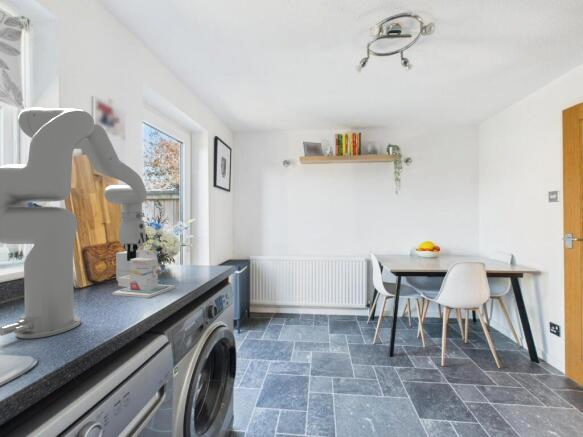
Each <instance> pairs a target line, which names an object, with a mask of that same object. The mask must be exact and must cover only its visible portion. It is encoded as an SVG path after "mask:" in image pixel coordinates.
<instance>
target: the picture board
mask: <svg viewBox="0 0 583 437" xmlns="http://www.w3.org/2000/svg"><path fill="white" fill-rule="evenodd" d="M174 289H176V286H175V285H173V284H159V283H158V287H157V288H155V289H153V290H151V291H146V290H130V287H124V288H122V289H119V290H115V291H113V292H112V296H119V297H121V296H122V297H132V298H141V299H150V298H152V297H156V296H158V295H161V294H164V293H165V292H169V291H171V290H174Z"/></svg>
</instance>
